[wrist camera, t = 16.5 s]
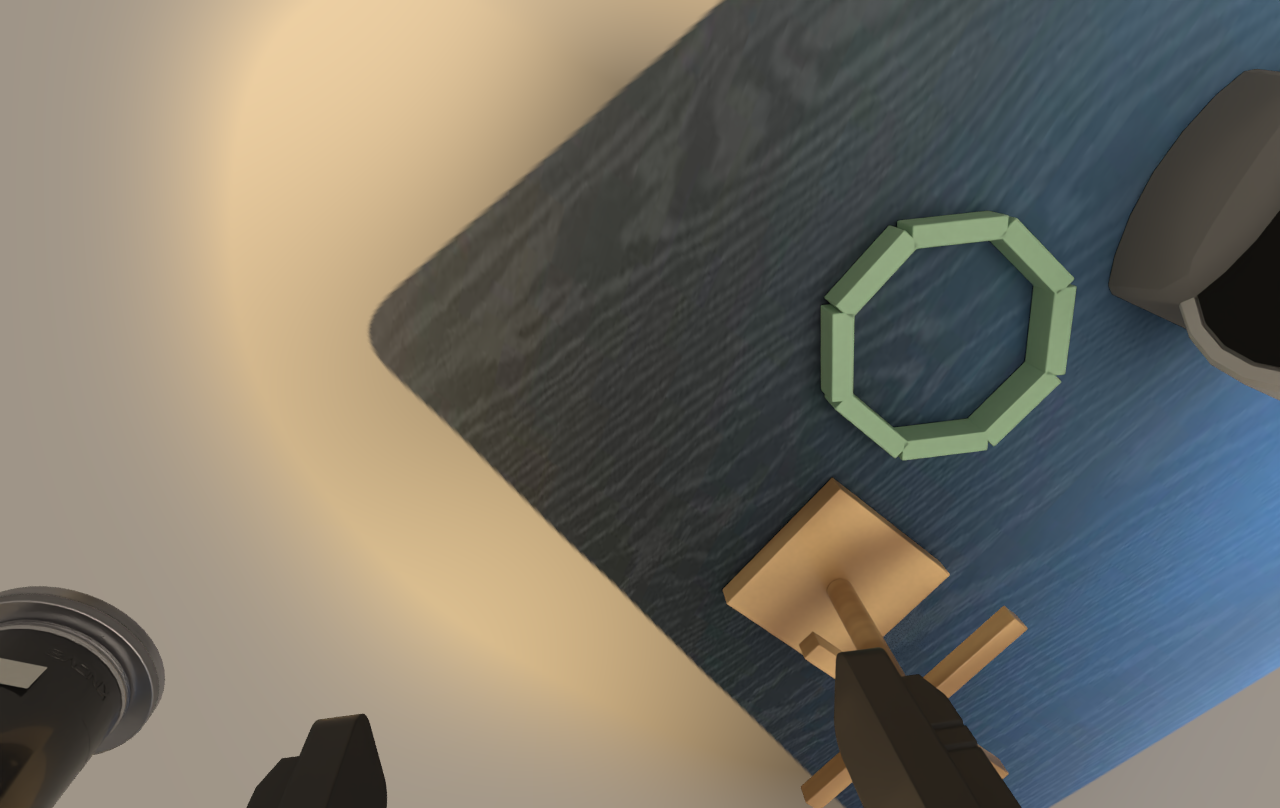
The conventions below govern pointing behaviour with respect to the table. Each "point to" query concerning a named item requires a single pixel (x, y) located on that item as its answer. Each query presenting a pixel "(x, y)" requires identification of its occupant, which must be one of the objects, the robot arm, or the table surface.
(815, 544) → the peg stand
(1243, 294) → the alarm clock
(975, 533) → the table surface
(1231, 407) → the table surface
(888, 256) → the hoop
